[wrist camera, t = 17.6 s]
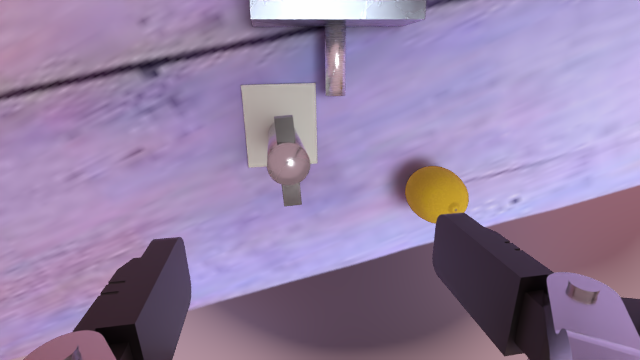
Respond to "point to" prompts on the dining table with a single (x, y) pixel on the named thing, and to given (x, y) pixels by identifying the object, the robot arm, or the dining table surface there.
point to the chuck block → (335, 24)
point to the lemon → (435, 193)
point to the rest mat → (278, 102)
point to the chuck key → (287, 158)
